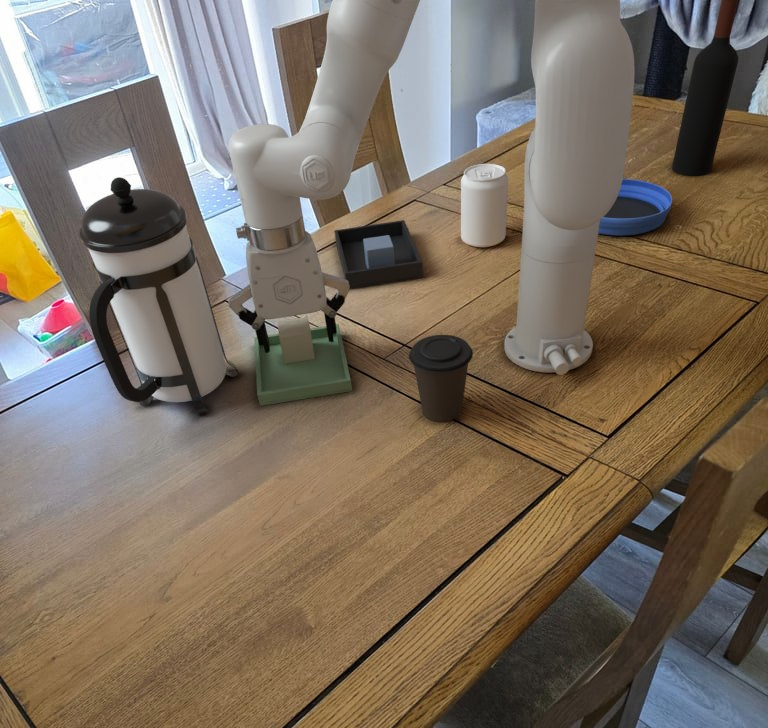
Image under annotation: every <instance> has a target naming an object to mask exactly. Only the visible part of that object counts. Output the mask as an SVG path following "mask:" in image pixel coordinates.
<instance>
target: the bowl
mask: <svg viewBox="0 0 768 728" xmlns="http://www.w3.org/2000/svg"><path fill="white" fill-rule="evenodd" d="M672 207H673V196H672V194H671V192H670V191H669V190H668V189H666V188H665V187H662V186H660V185H659V184H655V183H653V182H649V181H644V180H639V179H632V178H623V180H622V184H621V188H620V191H619V194H618V197H617V199H616V201H615V203H614V204H613V206H612V207H611V209H610V210H609V211H608V213H607V214H606V215H605V216H604V217H603V218H602V219H600V224H599V232H598V235H599V234H600V235H606V236H619V237H620V236H634V235H641V234H645V233H648V232H651V231H654V230H656V229H657V228H659V227H660V226H662V225H663V223H664V222H665V221H666V219H667V216H668V215H669V213H670V210H671V209H672Z"/></svg>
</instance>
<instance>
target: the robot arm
mask: <svg viewBox="0 0 768 728" xmlns="http://www.w3.org/2000/svg"><path fill="white" fill-rule="evenodd" d="M420 2H421V0H332V1H331V4H330V7H329V9H328V15H327V21H326V43H325V48H324V53H323V58H322V61H321V66H320V68H319V73H318V76H317V79H316V82H315V86H314V89H313V92H312V95H311V99H310V102H309V104H308V107H307V111H306V114H305V117H304V120H303V122H302V125H301V126H300V128H299V131H298V132H297V133H295V134H294V135H292V136H289V134H288V133H287V131H286V130H285V129H284V128H282V127H281V126H279V125H276V124H271V123H258V124H252V125H251V124H250V125H247V126H244V127H242V128H240V129H238V130H236V131H234V132H233V134H231V136H230V138H229V141H228V152H229V157H230V161H231V162H230V163H231V165H232V166H231V167H232V170H233V175H234V179H235V182H236V187H237V191H238V196H239V201H240V204H241V209H242V212H243V217H244V223H243V225H241V226H240V227H235V231H236V236H237V239H244V240H247V243H246V247H245V261H246V263H245V264H246V269H247V275H248V281H249V283H248V284H247V285H246V286H245V287H244V288H242V289H241V290H239V291H238V292H236V293H235V294H234V295H232V296H231V297H230V298H228V307H229V308H230V309H231V311H232V312H234V314H235V315H237V316H238V319H239V320H241V321H242V322H244V323H246V324H247V325H249V326H250V327H251V328H252V330H254V331H255V334H256V337H257V339H258V343H259V346H261V345H264V349H265V353H269V351H270V345H269V338H268V335H269V334H268V329H267V326H266V322H265V320H276V319H281V318H288V317H294V316H301V315H309V314H312V313H317V312H320V311H321V312H322V313H323V315H324V320H325V321H324V322H325V326H326V327H327V333H328V339H329V342H334V339H333V334H335V333H337V329H336V324H337V322H336V316H337V313H338V311H340V309H341V308H342V307H343V305H345V302H346V298H347V297H348V293H349V291H350V290H351V289H350V285H349V281H348V280H345V278H342V277H340V276H335V275H332V274H329V273H325V272H323V271H322V267H321V263H320V257H319V254H318V250H317V248H316V244H315V242H314V240H313V238H312V235H311V233H309V232H308V231H306V228H305V227H306V226H305V221H304V215H303V208H302V202H301V198H303V199H308V200H317V201H318V200H319V201H320V200H321V201H325V200H329V199H333V198H335V197H337V196H339V195H340V194H342V193H343V192H344V190H345V189H346V188H347V186H348V184H349V182H350V180H351V176H352V171H353V169H354V164H355V160H356V156H357V153H358V150H359V146H360V143H361V141H362V137H363V135H364V132H365V130H366V127H367V124H368V121H369V118H370V116H371V113H372V110H373V107H374V105H375V102H376V99H377V97H378V94H379V92H380V89H381V87H382V85H383V82H384V80H385V78H386V76H387V74H388V72H389V71H390V70H391V68H392V67H393V66H394V65H395V64H396V62H397V61H398V58H399V56H400V54H401V52H402V50H403V48H404V45H405V43H406V40H407V37H408V33H409V31H410V28H411V26H412V24H413V23H412V22H413V20H414V18H415V15H416V12H417V10H418V7H419V4H420ZM620 12H621V0H534V20H533V35H532V42H531V43H532V44H531V53H530V67H531V72H532V77H533V82H534V87H535V88H534V89H535V126H534V128H533V130H532V131H531V133H530V136H529V138H528V141H527V145H526V149H525V156H524V179H523V180H524V185H523V186H524V188H523V218H522V233H521V234H522V235H521V236H522V237H521V249H520V262H519V278H518V295H517V307H516V308H517V311H516V323H515V327H513V328H512V329H510V331H509V332H508V333H507V334H506V336H505V337H504V342H503V343H504V344H503V345H504V347H503V349H504V353H505V355H506V357H507V358H508V359H509V360H510V361H511V362H512V363H514V364H515V365H517V366H519V367H520V368H523V369H526V370H528V371H532V372H538V373H547V374H549V373H550V374H551V373H553V374H554V373H556V375H558V376H563V375H565V374H567V373H568V372H569V371H571V370H573V369H576V368H578V367H580V366H582V365H583V364H585V363H586V362H587V361H588V360H589V359H590V357H591V355H592V353H593V347H594V343H593V339H592V337H591V335H590V333H588V332H587V330H585V325H586V318H587V313H588V312H587V311H588V305H589V299H590V291H591V286H592V285H591V284H592V278H593V272H594V265H595V257H596V252H597V251H596V250H597V245H598V239H599V233H598V232H599V224H600V219H602V218H603V217H604V216H605V215H606V214H607V213H608V211H609V210H610V209H611V207H612V206H613V204H614V203H615V201H616V199H617V197H618V194H619V191H620V188H621V184H622V180H623V179H624V173H625V168H626V167H625V166H626V158H627V151H628V143H629V134H630V125H631V118H632V117H631V116H632V108H633V100H634V90H635V89H634V88H635V75H636V73H635V72H636V71H635V69H636V67H635V55H634V49H633V45H632V41H631V39H630V35H629V34H628V32H627V30H626V29H625V27H624V26H623V24H622V21H621V13H620ZM326 287H328V288H332V289H335V290H337V292H336V293H335V294H334V295H333V296H332V298H331V299H330V298H329V297H328V296H327V293H326ZM251 298H252V302H253V306H254V311H251V310H250V309H248V308H247V307H244V303H245V302H247V301H249V300H250V299H251Z"/></svg>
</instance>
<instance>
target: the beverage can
mask: <svg viewBox="0 0 768 728" xmlns="http://www.w3.org/2000/svg"><path fill="white" fill-rule="evenodd" d="M508 194H509V176H508V174H507V171H506V168H505V167H504V166H502V165H499V164H495V163H479V164H474V165H471V166H469V167H467V168H466V169H464V171H463V175H462V177H461V180H460V238H461V241H462V242H463V243H464V244H466V245H468V246H471V247H474V248H490V247H494V246H496V245H498V244H500V243H502V242H503V241H504V240H505V239H506V235H507V219H508V218H507V215H508V198H509V197H508Z"/></svg>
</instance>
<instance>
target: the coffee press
mask: <svg viewBox="0 0 768 728" xmlns="http://www.w3.org/2000/svg"><path fill="white" fill-rule="evenodd" d="M110 191H111V192H112V194H108V195H106V196H104V197H102V198H99V199H98V200H96V201H95V202H94V203H93V204H92V205H90V206H89V207H88V208H87V209H86V210H85V212H84V214H83V215H82V218H81V224H80V225H81V227H80V229H79V238H80V240H81V243H82V244H83V245H84V247H85V248H86V249H87V250H88V252H89V254H90V256H91V258H92V266H93V268H94V271H95V273H96V276H97V279H98V281H99V283H100V285H99V286H98V287H97V288H96V290H95V292H94V293H93V295H92V297H91V299H90V304H89V311H88V312H89V324H90V329H91V332H92V336H93V338H94V341H95V344H96V346H97V348H98V350H99V353H100V356H101V358H102V360H103V362H104V365H105V367H106V369H107V371H108V374H109V376H110V378H111V381H112V383H113V384H114V386H115V388H116V390H117V392H118V393H119V394H120V396H121V397H122V398H123V399H125V400H127V401H130V402H134V403H139V405H140V406H142V407H147V406H150V404H151V403H152V400H153V399H157V400H160V401H163V402H168V403H185V402H186V403H187V402H191V403H192V405H193V407H194V411H195V413H196V415H197V416H201V415H204V414H207V413H208V411H207V409H206V406H205V402H204V401H203V397H204V396H206V395H208V394H210V393H212V392H213V391H214V390H215V389H217V388H218V387H219V386H220V385H221V384H222V382H223V380H224V379H225V376H226V377H227V376H228V377H230V378H236V377H238V375H239V370H238V368H237V366H236V365H235V364H234V363H233V362H231V361H230V360H229V359H227V356H226V352H225V350H224V345H223V343H222V339H221V336H220V333H219V328H218V325H217V322H216V318H215V315H214V311H213V308H212V305H211V301H210V297H209V294H208V290H207V287H206V284H205V280H204V277H203V274H202V269H201V266H200V263H199V260H198V256H197V252H196V249H195V245H194V242H193V239H192V238H191V237H190V236H189V231H188V229H187V224H188V216H187V213H186V210H185V208H183V206H181V205H180V204H178V202H177V201H176V200H175V199H174V198H173V197H172V196H170V195H169V194H167V193H166V192H163V191H160V190H156V189H150V188H133V189H132V184H130V182H129V181H128V180H127V179H126V178H124V177H115V178H114V179H112V180H111V182H110ZM108 307H109V308H110V310H111V313H112V315H113V318H114V321H115V323H116V326H117V327H118V330H119V332H120V335H121V337H122V340H123V342H124V346H125V348H126V350H127V353H128V355H129V357H130V360H131V362H132V365H133V367H134V369H135V372H136V375H137V377H138V380H139V383H140V385H139V386H138V387H135V386H134V385H133V383H132V382H131V380H130V377H129V376H128V373H127V371H126V369H125V366H124V364H123V361H122V359H121V357H120V354H119V352H118V349H117V346H116V345H115V342H114V339H113V337H112V335H111V333H110V329H109V325H108V320H107V318H108V317H107V316H108V315H107V313H108ZM226 364H228V365H229V366H230V367H232V368H233V369H234V370H233V371H228V370H227V365H226Z"/></svg>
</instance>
